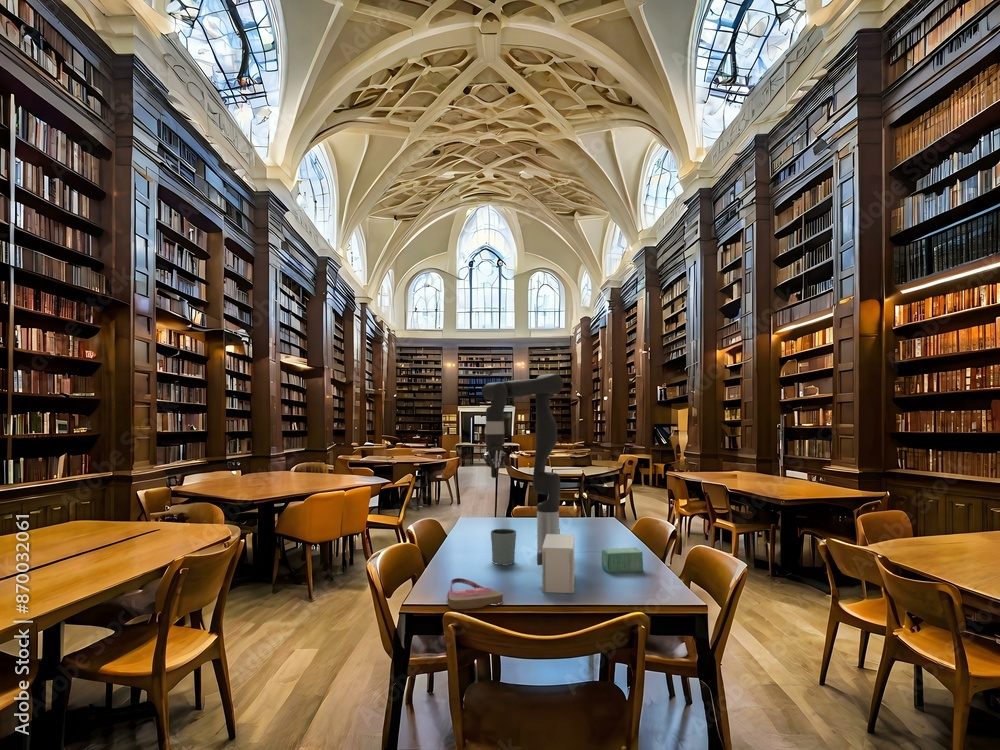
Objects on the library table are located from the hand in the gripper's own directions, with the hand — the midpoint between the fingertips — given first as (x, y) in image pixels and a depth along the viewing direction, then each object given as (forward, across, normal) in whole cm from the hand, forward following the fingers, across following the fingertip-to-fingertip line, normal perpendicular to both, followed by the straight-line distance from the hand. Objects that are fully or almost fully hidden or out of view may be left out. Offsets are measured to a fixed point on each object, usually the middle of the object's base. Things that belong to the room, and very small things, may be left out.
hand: (494, 477), depth 217 cm
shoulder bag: (+34, -34, -16) cm, 51 cm away
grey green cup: (+33, +4, -1) cm, 33 cm away
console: (+33, -6, -33) cm, 47 cm away
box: (+33, +22, -43) cm, 58 cm away
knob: (+27, -8, -30) cm, 41 cm away
